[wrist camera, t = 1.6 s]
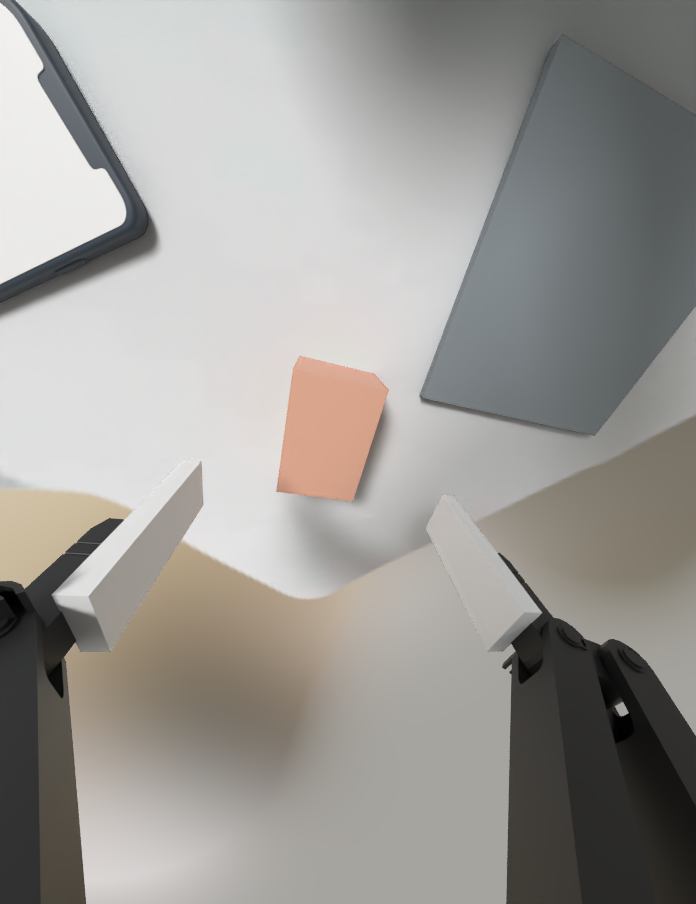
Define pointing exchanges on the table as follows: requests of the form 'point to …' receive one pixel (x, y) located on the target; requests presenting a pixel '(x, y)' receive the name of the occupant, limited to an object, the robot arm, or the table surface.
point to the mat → (576, 252)
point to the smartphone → (53, 166)
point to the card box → (328, 429)
